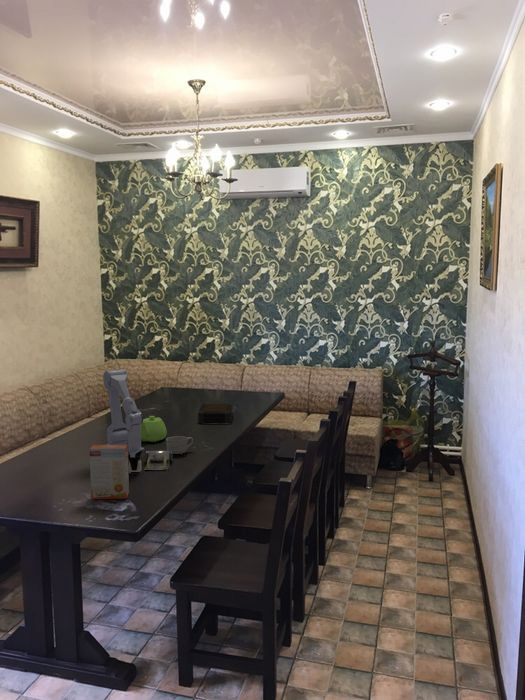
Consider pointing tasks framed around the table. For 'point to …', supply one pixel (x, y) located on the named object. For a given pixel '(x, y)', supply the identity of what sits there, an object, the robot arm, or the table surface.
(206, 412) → the cash box
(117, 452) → the cracker box
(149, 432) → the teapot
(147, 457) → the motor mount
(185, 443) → the teacup
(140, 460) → the light grey block
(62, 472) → the table surface
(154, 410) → the table surface
